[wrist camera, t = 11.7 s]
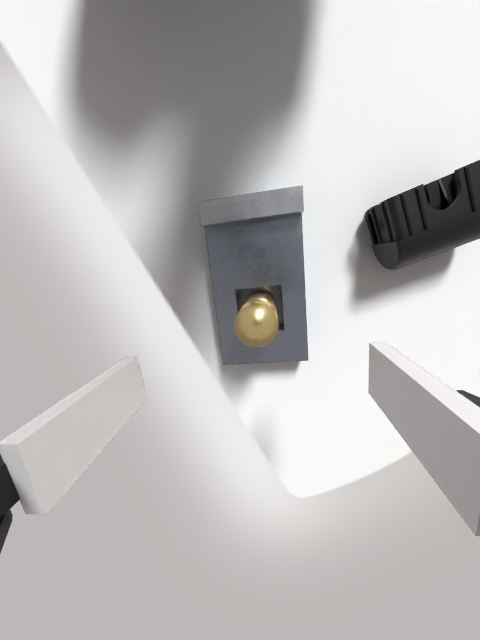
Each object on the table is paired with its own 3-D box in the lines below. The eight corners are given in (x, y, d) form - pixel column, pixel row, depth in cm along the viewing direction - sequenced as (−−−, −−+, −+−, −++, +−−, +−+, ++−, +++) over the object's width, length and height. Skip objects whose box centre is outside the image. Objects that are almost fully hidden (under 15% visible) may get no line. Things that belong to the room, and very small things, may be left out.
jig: (208, 208, 30) (196, 198, 25) (296, 195, 28) (302, 182, 23) (228, 354, 35) (221, 370, 30) (304, 350, 33) (310, 365, 28)
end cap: (375, 269, 29) (405, 271, 23) (359, 213, 28) (386, 199, 22) (463, 236, 27) (523, 229, 21) (450, 174, 26) (510, 146, 20)
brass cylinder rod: (243, 292, 31) (231, 306, 21) (274, 289, 30) (276, 302, 20) (247, 322, 31) (236, 348, 22) (277, 319, 31) (280, 345, 21)
